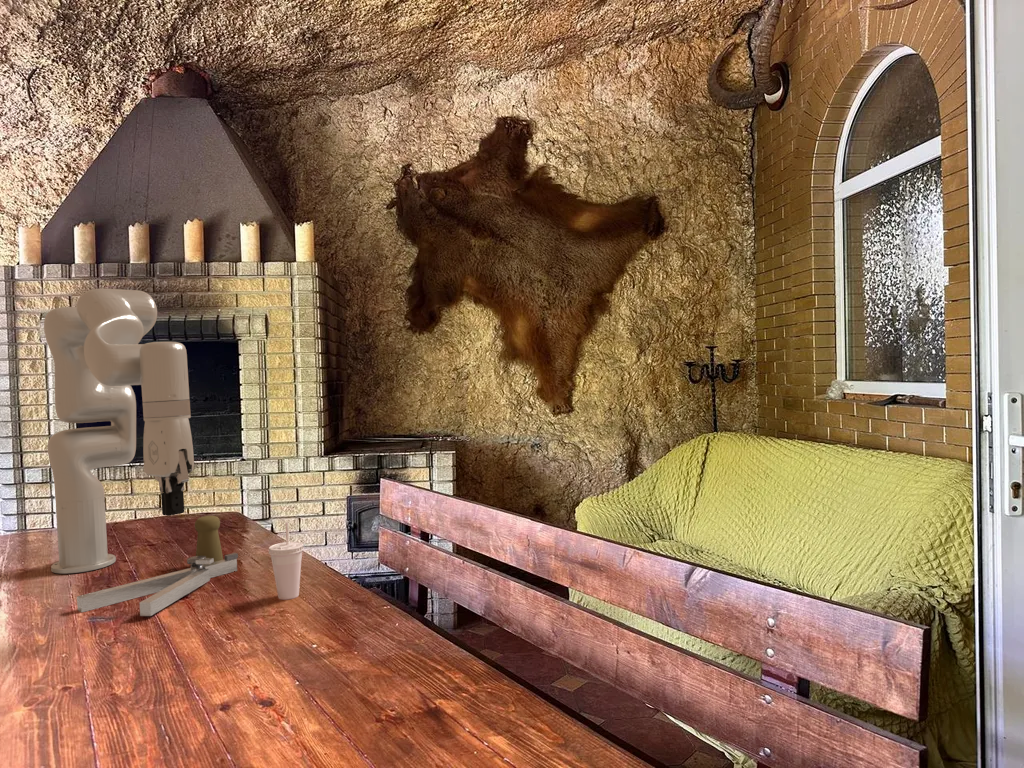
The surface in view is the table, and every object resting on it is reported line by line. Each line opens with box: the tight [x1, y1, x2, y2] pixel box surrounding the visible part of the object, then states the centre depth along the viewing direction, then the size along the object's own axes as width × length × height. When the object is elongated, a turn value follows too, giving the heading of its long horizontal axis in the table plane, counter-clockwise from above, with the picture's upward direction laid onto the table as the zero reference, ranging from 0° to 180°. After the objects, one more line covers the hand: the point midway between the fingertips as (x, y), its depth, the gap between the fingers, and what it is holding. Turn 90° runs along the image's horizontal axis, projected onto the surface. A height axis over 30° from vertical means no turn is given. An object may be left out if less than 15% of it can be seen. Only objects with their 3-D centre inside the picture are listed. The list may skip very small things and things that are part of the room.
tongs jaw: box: [139, 555, 214, 617], centre depth 134 cm, size 6×24×4 cm, turn 175°
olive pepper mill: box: [194, 515, 224, 565], centre depth 155 cm, size 6×6×11 cm
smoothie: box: [268, 521, 305, 601], centre depth 131 cm, size 6×6×14 cm
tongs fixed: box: [76, 552, 239, 613], centre depth 139 cm, size 2×31×4 cm, turn 140°
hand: (173, 513), depth 123 cm, fingers closed
